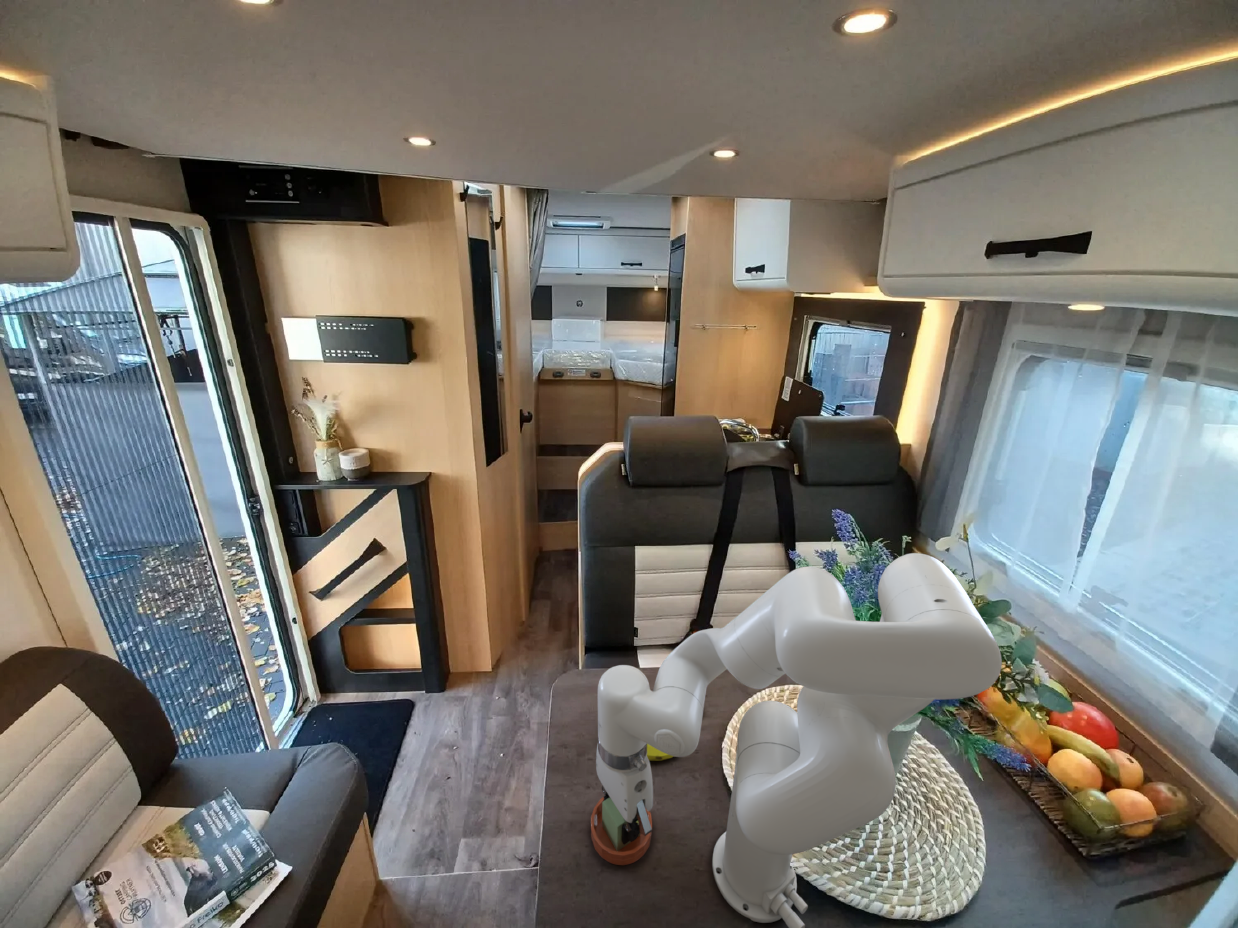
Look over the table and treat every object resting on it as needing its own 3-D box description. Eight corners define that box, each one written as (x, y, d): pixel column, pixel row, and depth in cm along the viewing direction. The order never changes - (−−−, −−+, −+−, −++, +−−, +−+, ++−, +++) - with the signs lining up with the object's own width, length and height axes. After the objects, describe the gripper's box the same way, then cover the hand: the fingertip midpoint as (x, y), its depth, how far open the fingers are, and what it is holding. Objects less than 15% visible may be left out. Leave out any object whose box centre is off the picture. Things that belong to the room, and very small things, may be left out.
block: (640, 834, 79) (641, 810, 77) (617, 851, 77) (617, 826, 75) (625, 810, 83) (625, 786, 81) (602, 826, 80) (602, 801, 78)
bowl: (663, 842, 79) (664, 830, 78) (611, 881, 74) (611, 869, 72) (629, 791, 87) (629, 779, 86) (579, 823, 81) (579, 811, 80)
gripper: (678, 774, 68) (671, 857, 75) (613, 693, 81) (612, 770, 88) (634, 803, 64) (631, 888, 71) (574, 713, 77) (576, 792, 84)
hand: (621, 822), depth 79 cm, fingers closed on block, 4 cm apart
